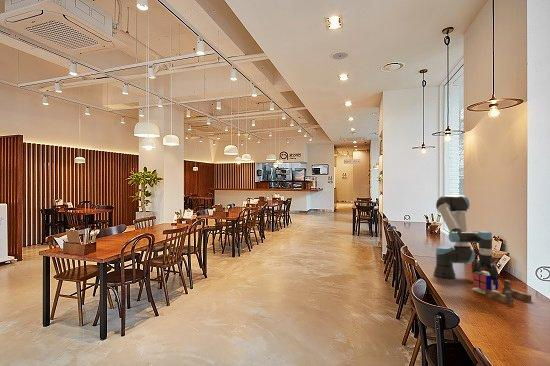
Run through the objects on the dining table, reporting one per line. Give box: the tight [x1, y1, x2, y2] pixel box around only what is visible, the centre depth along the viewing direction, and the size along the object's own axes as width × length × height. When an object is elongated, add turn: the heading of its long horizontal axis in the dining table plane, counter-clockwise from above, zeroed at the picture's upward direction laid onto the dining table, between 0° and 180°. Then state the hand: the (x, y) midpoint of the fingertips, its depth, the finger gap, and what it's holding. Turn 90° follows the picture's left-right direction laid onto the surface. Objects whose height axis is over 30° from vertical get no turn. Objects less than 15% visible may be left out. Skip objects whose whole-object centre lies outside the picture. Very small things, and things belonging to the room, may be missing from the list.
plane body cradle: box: [484, 279, 532, 306], centre depth 195 cm, size 16×18×9 cm
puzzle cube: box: [473, 270, 499, 291], centre depth 208 cm, size 10×10×10 cm
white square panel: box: [471, 287, 501, 295], centre depth 208 cm, size 11×11×1 cm
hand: (485, 286), depth 208 cm, fingers closed on puzzle cube, 10 cm apart
